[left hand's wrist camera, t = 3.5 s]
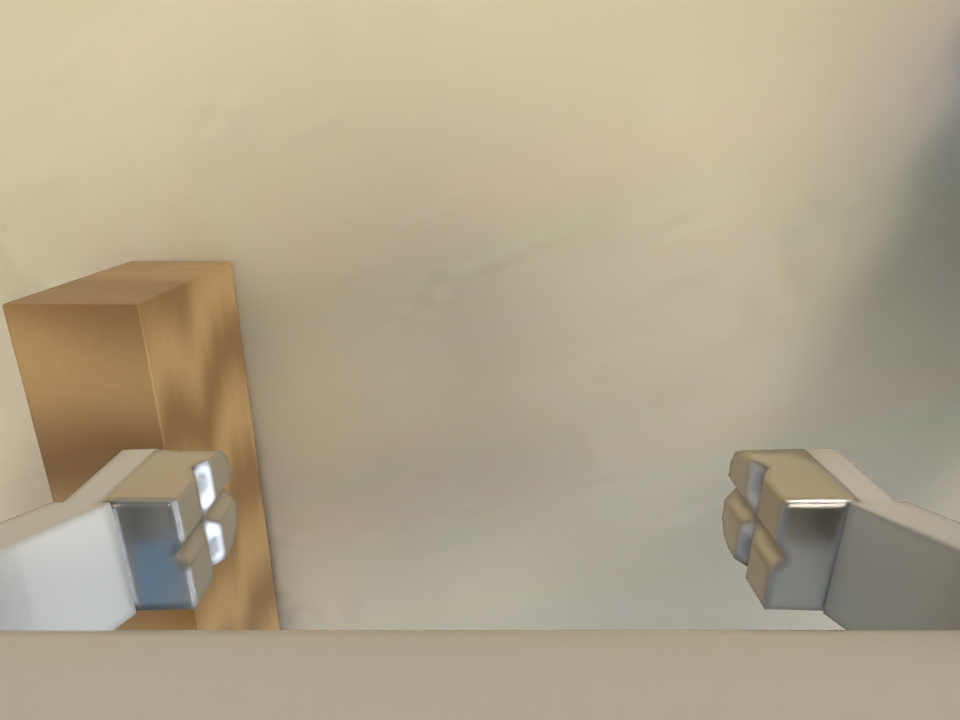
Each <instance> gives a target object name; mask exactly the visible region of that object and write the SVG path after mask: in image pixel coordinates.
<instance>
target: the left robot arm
mask: <svg viewBox="0 0 960 720" xmlns="http://www.w3.org/2000/svg"><path fill="white" fill-rule="evenodd" d="M231 476H232V475H231V470H230V465H229V460H228V457H227V456H226V454H225V453H224V452H223V451H222V450H171V449H161V450H159V449H130V450H122V451H121V452H120V453H119V454H118V455H116V456H115V457H114V458H113V459H112V460H111V461H110V462H108V463H107V464H106V465H105V466H104V467H103V468H102V469H101V470H99V471H98V472H97V473H96V474H95V475H94V476H93V477H91V478H90V479H89V480H88V481H87V482H86V483H85V484H83V485H82V486H81V487H80V488H79V489H78V490H77V491H76V492H74V493H73V494H72V495H71V496H70V497H69V498H68V499H66V500H65V501H64V502H52V503H50V504H47V505H45V506H42V507H40V508H37V509H34V510H32V511H29V512H27V513H24V514H22V515H19V516H17V517H14V518H12V519H9V520H6V521H4V522H1V523H0V720H960V523H959V522H956V521H953V520H951V519H948V518H946V517H943V516H941V515H938V514H936V513H933V512H931V511H928V510H926V509H923V508H920V507H918V506H915V505H913V504H910V503H908V502H896V501H895V500H894V499H893V498H891V497H890V496H889V495H888V494H887V493H886V492H885V491H883V490H882V489H881V488H880V487H879V486H878V485H877V484H875V483H874V482H873V481H872V480H871V479H870V478H869V477H868V476H866V475H865V474H864V473H863V472H862V471H861V470H860V469H858V468H857V467H856V466H855V465H854V464H853V463H852V462H851V461H849V460H848V459H847V458H846V457H845V456H844V455H843V454H841V453H840V452H839V451H837V450H834V449H830V448H829V449H807V450H804V449H786V450H744V451H738V452H735V453H734V456H733V458H732V460H731V464H730V469H729V475H728V476H729V477H730V479H731V480H732V482H733V483H734V485H735V487H736V488H735V489H734V490H733V491H732V493H731V494H730V495H729V496H728V497H727V498H726V499H725V500H724V509H723V517H722V520H723V530H724V537H725V540H726V543H727V546H728V548H729V550H730V552H731V554H732V555H733V557H734V558H735V559H736V560H738V561H739V562H741V563H743V564H744V565H746V566H748V568H747V574H746V579H747V581H748V582H749V584H750V586H751V587H752V589H753V591H754V592H755V594H756V595H757V597H758V599H759V600H760V602H761V604H762V605H763V607H764V609H784V610H821V611H824V612H823V613H824V614H825V615H827V616H828V617H829V618H831V619H832V620H833V621H835V622H836V623H837V624H839V625H840V626H842V627H843V628H844V629H846V630H115V629H116V628H117V627H119V626H120V625H121V624H123V623H124V622H125V621H127V620H128V619H130V618H131V617H132V616H134V615H135V614H136V611H139V610H174V609H196V607H197V605H198V604H199V602H200V600H201V599H202V597H203V596H204V594H205V592H206V591H207V589H208V587H209V586H210V584H211V582H212V581H213V579H214V574H213V568H212V566H214V565H216V564H217V563H219V562H221V561H222V560H224V559H225V558H226V557H227V555H228V553H229V552H230V550H231V548H232V546H233V543H234V539H235V535H236V531H237V507H236V500H235V499H234V498H233V497H232V496H231V495H230V494H229V493H228V491H227V490H226V489H225V488H224V487H225V485H226V483H227V482H228V480H229V479H230V477H231Z"/></svg>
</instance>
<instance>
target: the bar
mask: <svg viewBox="0 0 960 720" xmlns="http://www.w3.org/2000/svg"><path fill="white" fill-rule="evenodd" d="M3 310H4V313H5V317H6V321H7V325H8V329H9V333H10V336H11V340H12V344H13V348H14V352H15V355H16V359H17V363H18V367H19V371H20V375H21V378H22V382H23V386H24V390H25V394H26V398H27V401H28V405H29V409H30V413H31V417H32V421H33V424H34V428H35V432H36V436H37V440H38V443H39V447H40V451H41V455H42V459H43V463H44V466H45V470H46V474H47V478H48V482H49V486H50V489H51V493H52V497H53V501H54V502H64V501H65V500H66V499H68V498H69V497H70V496H71V495H72V494H73V493H74V492H76V491H77V490H78V489H79V488H80V487H81V486H82V485H83V484H85V483H86V482H87V481H88V480H89V479H90V478H91V477H93V476H94V475H95V474H96V473H97V472H98V471H99V470H101V469H102V468H103V467H104V466H105V465H106V464H107V463H108V462H110V461H111V460H112V459H113V458H114V457H115V456H116V455H118V454H119V453H120V452H121V451H122V450H130V449H159V450H161V449H171V450H222V451H223V452H224V453H225V454H226V456H227V457H228V460H229V465H230V470H231V475H232V476H231V477H230V479H229V480H228V482H227V483H226V485H225V487H224V488H225V489H226V490H227V491H228V493H229V494H230V495H231V496H232V497H233V498H234V499H235V500H236V507H237V531H236V535H235V539H234V543H233V546H232V548H231V550H230V552H229V553H228V555H227V557H226V558H225V559H224V560H222V561H221V562H219V563H217V564H216V565H214V566H212V568H213V574H214V579H213V581H212V582H211V584H210V586H209V587H208V589H207V591H206V592H205V594H204V596H203V597H202V599H201V600H200V602H199V604H198V605H197V607H196V609H174V610H139V611H136V614H135V615H134V616H132V617H131V618H130V619H128V620H127V621H125V622H124V623H123V624H121V625H120V626H119V627H117V628H116V629H115V630H280V627H279V619H278V612H277V604H276V597H275V589H274V582H273V574H272V566H271V559H270V551H269V544H268V536H267V529H266V521H265V514H264V506H263V499H262V491H261V484H260V476H259V469H258V461H257V454H256V446H255V439H254V431H253V423H252V416H251V408H250V401H249V393H248V386H247V378H246V371H245V363H244V356H243V348H242V341H241V333H240V326H239V318H238V311H237V303H236V296H235V288H234V281H233V273H232V265H231V262H158V261H131V262H128V263H125V264H122V265H119V266H116V267H113V268H110V269H107V270H104V271H101V272H98V273H95V274H92V275H89V276H86V277H83V278H80V279H77V280H74V281H71V282H68V283H65V284H62V285H59V286H56V287H53V288H50V289H47V290H44V291H41V292H38V293H35V294H32V295H29V296H26V297H23V298H20V299H17V300H14V301H11V302H8V303H5V304H3Z"/></svg>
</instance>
